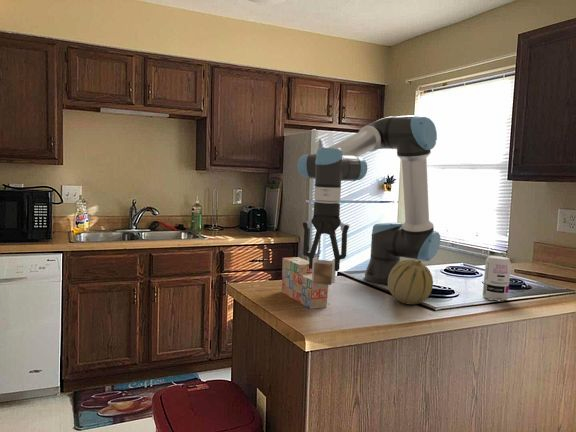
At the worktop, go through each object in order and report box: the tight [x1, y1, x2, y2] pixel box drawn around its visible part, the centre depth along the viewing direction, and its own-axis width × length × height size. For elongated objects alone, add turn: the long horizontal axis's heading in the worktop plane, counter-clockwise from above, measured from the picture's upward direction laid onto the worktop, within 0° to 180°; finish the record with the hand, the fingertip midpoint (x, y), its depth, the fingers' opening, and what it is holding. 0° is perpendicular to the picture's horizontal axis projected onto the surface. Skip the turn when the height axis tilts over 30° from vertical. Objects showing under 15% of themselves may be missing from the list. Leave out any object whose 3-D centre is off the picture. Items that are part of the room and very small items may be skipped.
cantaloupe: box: [387, 259, 434, 305], centre depth 160 cm, size 15×15×15 cm
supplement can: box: [482, 255, 512, 301], centre depth 172 cm, size 8×8×15 cm
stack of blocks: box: [281, 256, 329, 310], centre depth 158 cm, size 21×6×12 cm, turn 26°
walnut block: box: [313, 259, 332, 286], centre depth 141 cm, size 5×5×6 cm
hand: (323, 280), depth 141 cm, fingers closed on walnut block, 5 cm apart
